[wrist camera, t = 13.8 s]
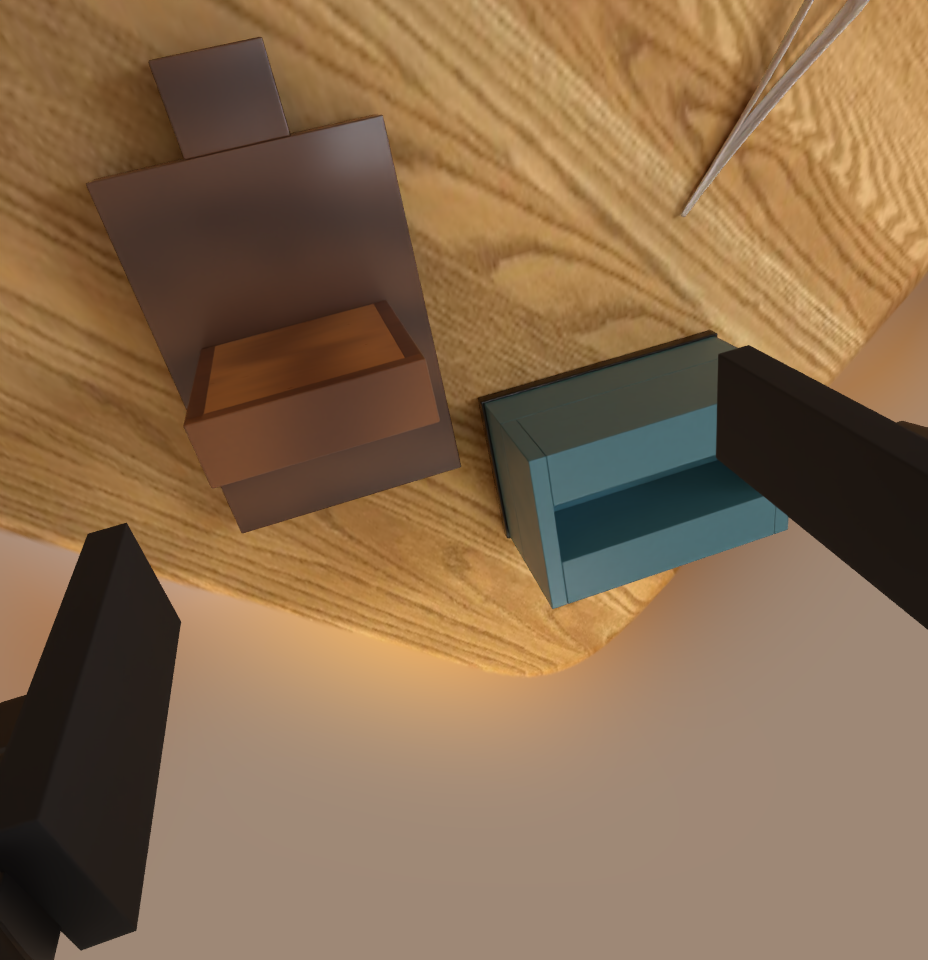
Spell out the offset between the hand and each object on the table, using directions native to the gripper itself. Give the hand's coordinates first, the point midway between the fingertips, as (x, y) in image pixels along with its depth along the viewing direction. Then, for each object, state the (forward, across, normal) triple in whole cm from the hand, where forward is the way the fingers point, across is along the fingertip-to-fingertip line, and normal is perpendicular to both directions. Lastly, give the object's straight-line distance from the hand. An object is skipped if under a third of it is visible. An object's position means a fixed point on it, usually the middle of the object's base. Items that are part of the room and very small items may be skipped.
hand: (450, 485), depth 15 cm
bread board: (+26, -3, -2) cm, 26 cm away
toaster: (+26, +14, -16) cm, 34 cm away
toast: (+24, -3, -4) cm, 25 cm away
